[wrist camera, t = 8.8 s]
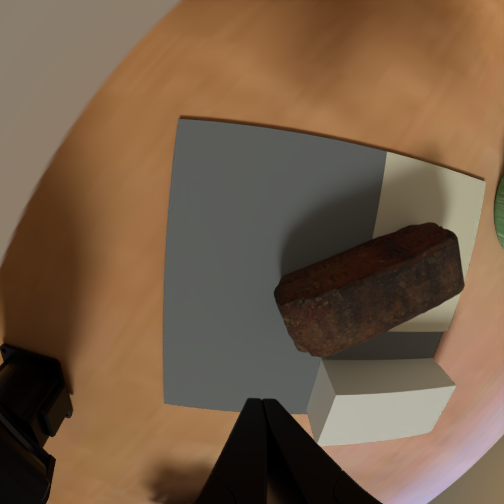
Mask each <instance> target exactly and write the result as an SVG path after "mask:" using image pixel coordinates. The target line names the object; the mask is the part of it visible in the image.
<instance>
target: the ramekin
mask: <svg viewBox="0 0 504 504" xmlns="http://www.w3.org/2000/svg"><path fill="white" fill-rule="evenodd" d="M494 221H495V228H496V233H497V236H498V239H499V242H500V243H501V245H502V247H503V248H504V176H503V177H502V179H501V182H500V184H499V187H498V190H497V194H496V199H495V207H494Z"/></svg>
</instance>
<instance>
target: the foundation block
mask: <svg viewBox="0 0 504 504" xmlns="http://www.w3.org/2000/svg"><path fill="white" fill-rule="evenodd" d="M455 387H456V384H455V383H454V382H453V381H452V380H451V378H450V377H449V376H448V375H447V374H446V373H445V371H444V370H443V369H442V368H441V367H440V366H439V365H438V363H437V362H436V361H435V360H434V359H433V358H421V359H397V360H321V363H320V367H319V370H318V373H317V377H316V380H315V383H314V387H313V390H312V393H311V397H310V400H309V403H308V406H307V409H306V411H307V414H308V418H309V422H310V425H311V429H312V433H313V437H314V440H315V442H316V443H317V444H318V445H319V446H331V445H345V444H356V443H366V442H375V441H383V440H390V439H397V438H403V437H409V436H415V435H420V434H425V433H430V432H431V430H432V428H433V427H434V425H435V423H436V422H437V420H438V418H439V417H440V415H441V413H442V411H443V410H444V408H445V406H446V404H447V402H448V400H449V399H450V397H451V395H452V393H453V391H454V389H455Z"/></svg>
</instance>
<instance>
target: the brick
mask: <svg viewBox="0 0 504 504" xmlns="http://www.w3.org/2000/svg"><path fill="white" fill-rule="evenodd" d="M464 286H465V285H464V277H463V270H462V264H461V257H460V249H459V243H458V237H457V236H456V234H455V233H454V232H453V231H450V230H448V229H444V228H443V227H442V226H438V224H436V223H434V222H427V223H423V224H420V225H409V226H407V227H404V228H402V229H400V230H398V231H396V232H393V233H390V234H386V235H383V236H379V237H376V238H374V239H372V240H370V241H367V242H364V243H362V244H360V245H357V246H355V247H352V248H350V249H348V250H345V251H343V252H341V253H338V254H336V255H333V256H331V257H329V258H327V259H324V260H321V261H319V262H316V263H314V264H311V265H309V266H306V267H304V268H302V269H299V270H296V271H294V272H291V273H289V274H286V275H284V276H283V277H282V278H281V279H280V281H279V284H278V286H277V287H276V288H275V290H274V298H275V302H276V304H277V307H278V309H279V312H280V314H281V316H282V318H283V321H284V324H285V326H286V328H287V332H288V334H289V336H290V337H291V338H292V339H293V342H294V345H295V346H296V348H297V350H298V351H300V352H305V353H307V352H308V353H309V354H310V355H311V356H313V357H320V358H324V357H327V356H330V355H333V354H336V353H338V352H341V351H343V350H345V349H348V348H351V347H353V346H355V345H357V344H360V343H362V342H365V341H367V340H369V339H371V338H373V337H374V336H377V335H379V334H382V333H385V332H387V331H389V330H390V329H392V328H394V327H396V326H398V325H400V324H402V323H405V322H407V321H409V320H411V319H413V318H415V317H416V316H418V315H420V314H423V313H426V312H427V311H428V310H431V309H433V308H435V307H438V306H439V305H441V304H442V303H444V302H445V301H447V300H449V299H451V298H453V297H454V296H456V295H458V294H460V292H461V291H462V290H463V288H464Z"/></svg>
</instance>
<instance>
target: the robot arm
mask: <svg viewBox="0 0 504 504" xmlns="http://www.w3.org/2000/svg"><path fill="white" fill-rule="evenodd" d="M0 351H1V354H2V358H3V361H4V362H3V363H2V364H1V365H0V504H46V503H47V501H48V498H49V495H50V489H51V483H52V477H53V472H54V467H55V462H56V459H55V458H54V457H53V456H52V455H51V454H50V455H49V454H48V453H47V452H46V451H45V450H44V449H43V447H44V445H45V443H46V441H47V439H48V438H49V436H50V437H54V436H55V435H56V433H57V431H58V429H59V427H60V425H61V424H62V422H63V420H64V418H65V417H66V418H71V416H72V410H71V404H70V400H69V397H68V393H67V389H66V386H65V383H64V379H63V375H62V371H61V366H60V363H59V362H58V361H57V360H56V359H53V358H49V357H46V356H42V355H39V354H35V353H32V352H29V351H26V350H23V349H19V348H16V347H13V346H10V345H7V344H2V345H1V346H0ZM53 364H54V365H55V366H54V365H53ZM341 470H342V468H341V467H340V466H339V465H338V464H337V463H336V462H335V461H334V460H333V459H332V458H331V457H330V456H329V455H328V454H327V453H326V452H325V451H324V450H323V449H322V448H321V447H320V446H319V445H318V444H317V443H316V442H315V441H314V440H313V439H312V437H311V436H310V435H309V434H308V433H307V432H306V431H305V430H304V429H303V428H302V427H301V426H300V425H299V423H298V422H297V421H296V420H295V419H294V418H293V417H292V416H291V415H290V414H289V413H288V411H287V410H286V409H285V408H284V407H283V406H282V405H281V404H280V402H279V401H278V400H277V399H274V398H263V399H262V400H261V399H260V398H247V400H246V402H245V404H244V406H243V408H242V410H241V412H240V415H239V417H238V419H237V421H236V423H235V425H234V427H233V429H232V431H231V433H230V435H229V438H228V440H227V442H226V444H225V446H224V448H223V450H222V452H221V454H220V456H219V458H218V460H217V462H216V464H215V466H214V468H213V470H212V472H211V474H210V475H209V477H208V479H207V481H206V483H205V485H204V486H203V488H202V490H201V492H200V493H199V495H198V496H197V498H196V499H195V501H194V502H193V503H192V504H382V503H381V502H380V501H378V500H377V499H376V498H374V497H373V496H372V495H370V494H369V493H368V492H367V491H365V490H364V489H363V488H362V487H361V486H359V485H358V484H357V483H356V482H355V481H354V480H353V479H352V478H351V477H350V476H349V475H348V474H347V473H346V472H345V471H344V470H342V471H341Z"/></svg>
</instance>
